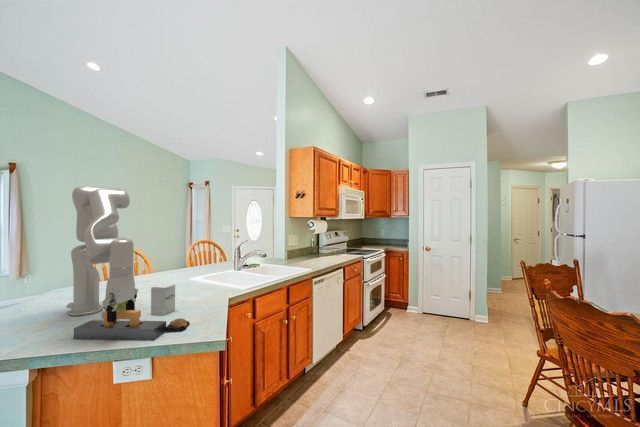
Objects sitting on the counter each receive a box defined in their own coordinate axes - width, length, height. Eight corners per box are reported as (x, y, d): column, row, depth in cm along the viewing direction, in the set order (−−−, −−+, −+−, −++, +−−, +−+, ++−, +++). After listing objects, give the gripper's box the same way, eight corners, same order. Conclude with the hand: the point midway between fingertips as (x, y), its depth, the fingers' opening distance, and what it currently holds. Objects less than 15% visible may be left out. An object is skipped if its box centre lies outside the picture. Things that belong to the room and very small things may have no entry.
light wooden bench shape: (101, 333, 108) (101, 312, 108) (107, 330, 111) (107, 310, 111) (135, 334, 108) (136, 312, 108) (140, 331, 111) (140, 310, 111)
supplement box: (164, 315, 131) (164, 287, 131) (150, 314, 132) (150, 286, 132) (175, 310, 138) (175, 284, 138) (162, 309, 140) (162, 283, 140)
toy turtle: (169, 325, 121) (169, 316, 121) (191, 323, 123) (191, 314, 123) (162, 335, 111) (162, 325, 111) (186, 332, 113) (186, 323, 113)
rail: (73, 339, 106) (73, 328, 106) (91, 330, 114) (91, 320, 114) (153, 340, 105) (153, 329, 105) (166, 331, 113) (166, 321, 113)
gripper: (127, 267, 118) (127, 309, 118) (93, 276, 101) (93, 325, 101) (145, 267, 118) (145, 309, 118) (114, 276, 101) (114, 325, 100)
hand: (121, 317), depth 109 cm, fingers open, 9 cm apart
